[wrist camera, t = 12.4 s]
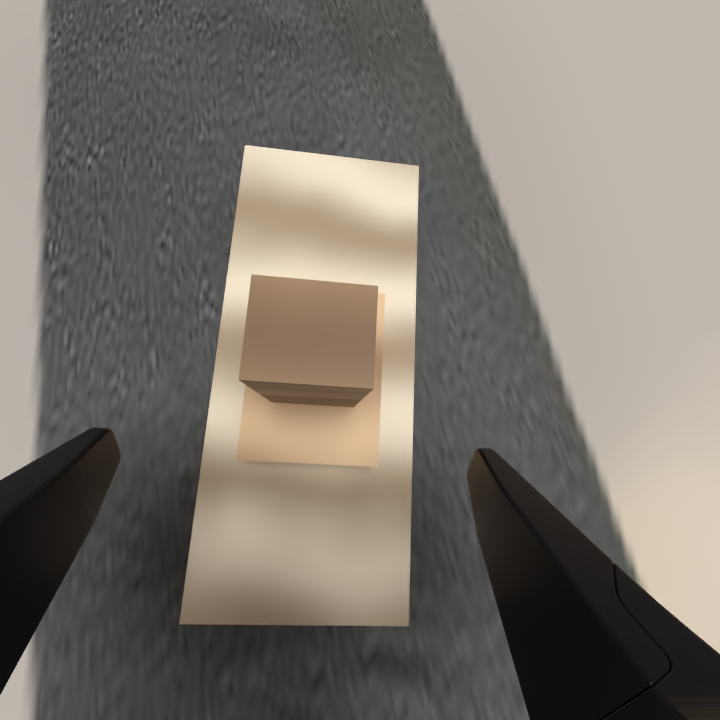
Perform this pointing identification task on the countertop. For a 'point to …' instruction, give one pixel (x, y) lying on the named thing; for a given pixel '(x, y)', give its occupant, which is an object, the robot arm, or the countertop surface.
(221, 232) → the countertop surface
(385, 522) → the board
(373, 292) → the block
